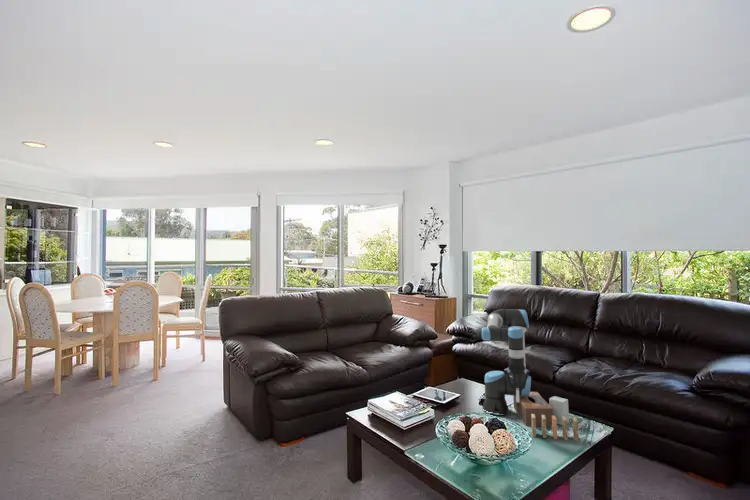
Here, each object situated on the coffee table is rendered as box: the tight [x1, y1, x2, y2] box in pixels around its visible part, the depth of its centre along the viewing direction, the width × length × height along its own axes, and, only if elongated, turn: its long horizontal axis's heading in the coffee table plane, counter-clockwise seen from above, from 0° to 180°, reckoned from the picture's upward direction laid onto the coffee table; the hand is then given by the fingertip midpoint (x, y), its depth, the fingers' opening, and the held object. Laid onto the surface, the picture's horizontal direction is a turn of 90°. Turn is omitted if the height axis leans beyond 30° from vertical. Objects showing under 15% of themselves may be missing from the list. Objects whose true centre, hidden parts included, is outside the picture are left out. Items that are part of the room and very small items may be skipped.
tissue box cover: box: [512, 391, 553, 427], centre depth 229 cm, size 26×14×10 cm, turn 175°
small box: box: [548, 395, 570, 426], centre depth 221 cm, size 8×6×13 cm
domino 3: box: [561, 416, 569, 441], centre depth 202 cm, size 2×5×10 cm, turn 163°
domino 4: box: [572, 416, 580, 442], centre depth 201 cm, size 2×5×10 cm, turn 164°
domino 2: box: [541, 415, 548, 439], centre depth 205 cm, size 2×5×10 cm, turn 164°
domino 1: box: [531, 414, 537, 438], centre depth 206 cm, size 2×5×10 cm, turn 164°
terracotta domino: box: [551, 416, 558, 440], centre depth 204 cm, size 2×5×10 cm, turn 164°
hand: (517, 401), depth 208 cm, fingers closed
